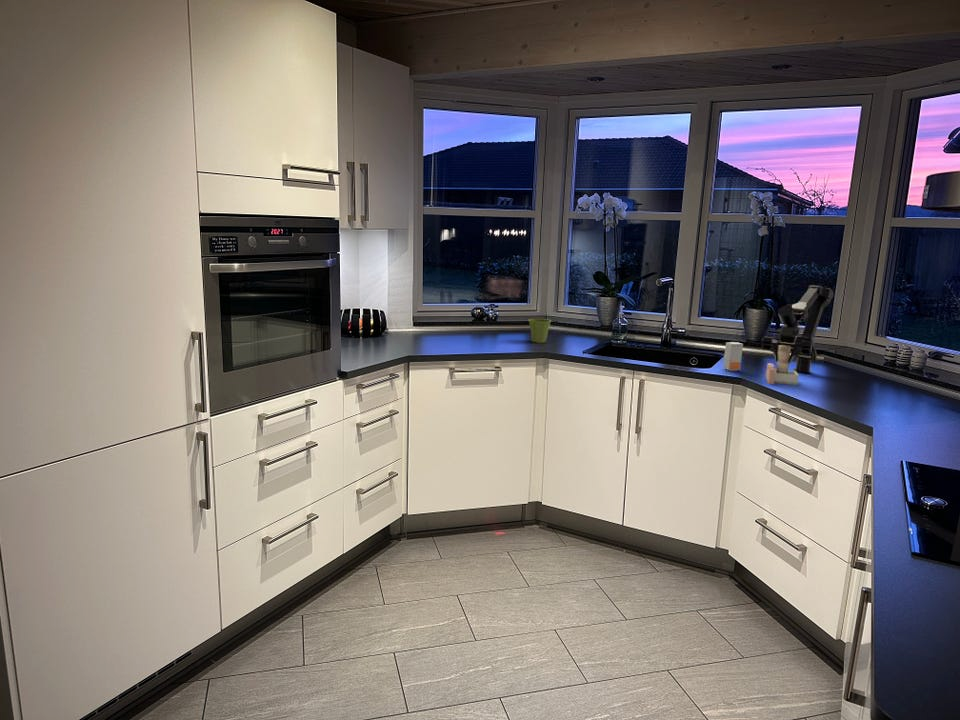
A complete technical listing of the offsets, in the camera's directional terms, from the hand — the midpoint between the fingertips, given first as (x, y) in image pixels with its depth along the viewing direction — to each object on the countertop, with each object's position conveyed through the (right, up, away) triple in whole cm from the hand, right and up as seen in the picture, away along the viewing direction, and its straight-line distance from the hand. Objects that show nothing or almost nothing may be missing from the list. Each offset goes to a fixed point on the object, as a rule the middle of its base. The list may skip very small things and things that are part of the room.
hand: (782, 361), depth 274 cm
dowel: (+1, -6, +2) cm, 7 cm away
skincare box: (-12, -4, +24) cm, 27 cm away
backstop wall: (-3, -8, +4) cm, 10 cm away
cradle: (+2, -8, +3) cm, 9 cm away
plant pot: (-93, +10, +73) cm, 119 cm away
